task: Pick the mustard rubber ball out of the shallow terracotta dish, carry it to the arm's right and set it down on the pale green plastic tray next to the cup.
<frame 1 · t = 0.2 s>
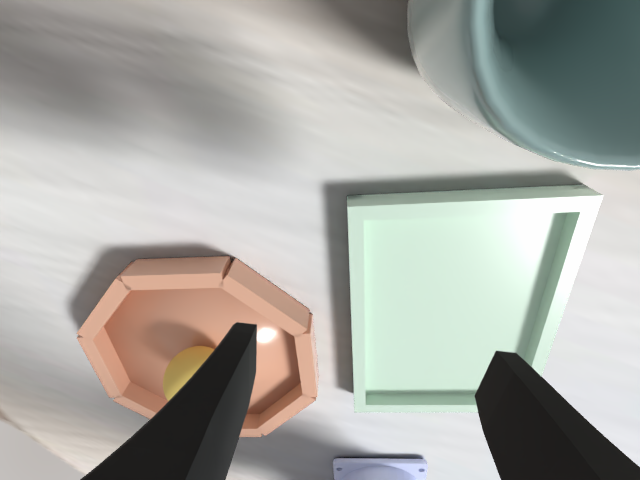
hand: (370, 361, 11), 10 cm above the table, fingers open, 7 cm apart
dish: (210, 347, 25), on the table
cup: (484, 6, 15), on the table
ball: (207, 354, 24), point 1 cm above the table, touching dish
tray: (446, 309, 22), on the table
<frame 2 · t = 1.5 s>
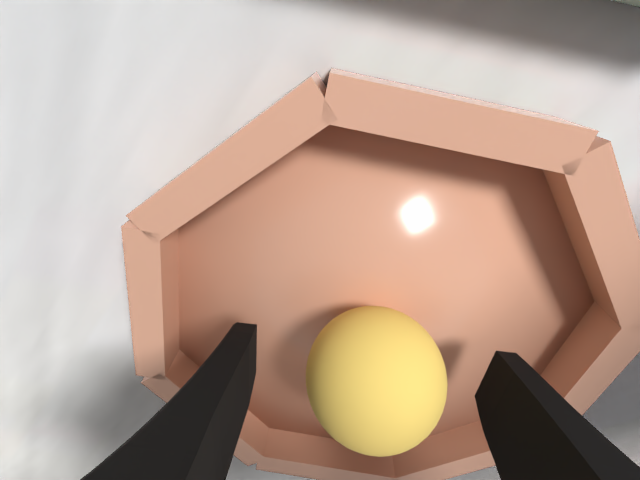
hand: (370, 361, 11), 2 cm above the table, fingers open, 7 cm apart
dish: (368, 315, 12), on the table
ball: (369, 327, 12), point 1 cm above the table, touching dish
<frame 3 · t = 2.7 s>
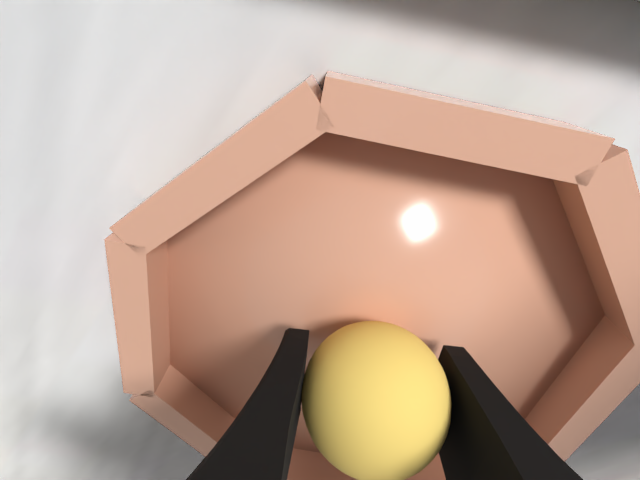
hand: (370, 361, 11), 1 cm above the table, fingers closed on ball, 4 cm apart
dish: (367, 328, 12), on the table
ball: (368, 341, 11), point 1 cm above the table, touching dish, gripper
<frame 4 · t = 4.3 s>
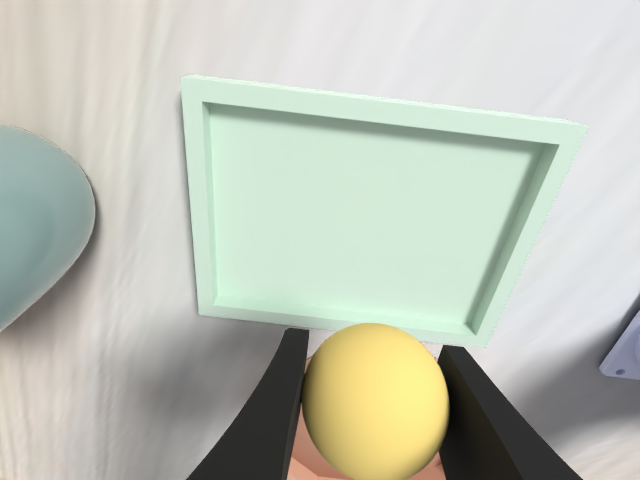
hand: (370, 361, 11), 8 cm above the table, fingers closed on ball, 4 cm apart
dish: (364, 423, 26), on the table
cup: (47, 184, 18), on the table
ball: (367, 343, 11), point 8 cm above the table, touching gripper
tray: (358, 222, 18), on the table
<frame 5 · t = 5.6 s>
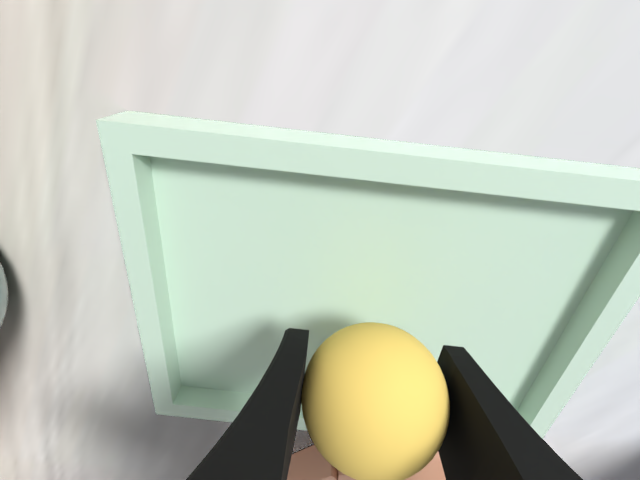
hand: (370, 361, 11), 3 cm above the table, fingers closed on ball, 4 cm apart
ball: (367, 342, 11), point 2 cm above the table, touching gripper
tray: (364, 300, 13), on the table
when the fingers open (3 cm above the table, at t = 6.2 s): ball drops 1 cm, resting on tray.
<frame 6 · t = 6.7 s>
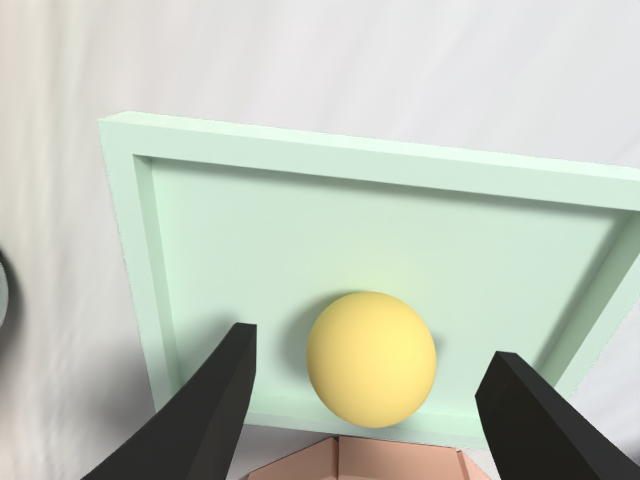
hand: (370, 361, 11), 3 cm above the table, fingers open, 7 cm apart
ball: (364, 313, 13), point 1 cm above the table, touching tray
tray: (364, 300, 13), on the table
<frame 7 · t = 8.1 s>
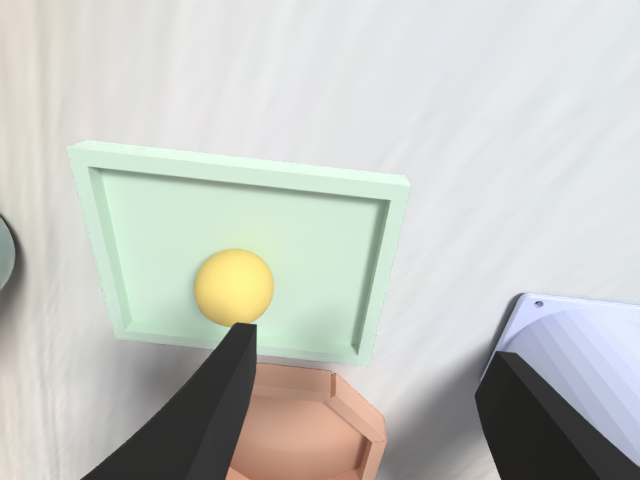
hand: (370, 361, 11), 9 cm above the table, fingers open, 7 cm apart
dish: (284, 431, 28), on the table
ball: (244, 266, 20), point 1 cm above the table, touching tray
tray: (247, 259, 20), on the table
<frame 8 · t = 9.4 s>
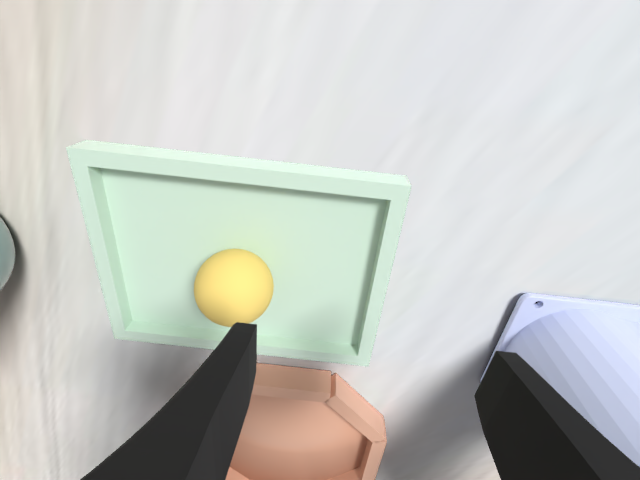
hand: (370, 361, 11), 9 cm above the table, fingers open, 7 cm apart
dish: (284, 431, 28), on the table
ball: (244, 266, 20), point 1 cm above the table, touching tray
tray: (247, 259, 20), on the table
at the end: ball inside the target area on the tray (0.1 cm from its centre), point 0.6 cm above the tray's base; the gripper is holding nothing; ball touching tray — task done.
